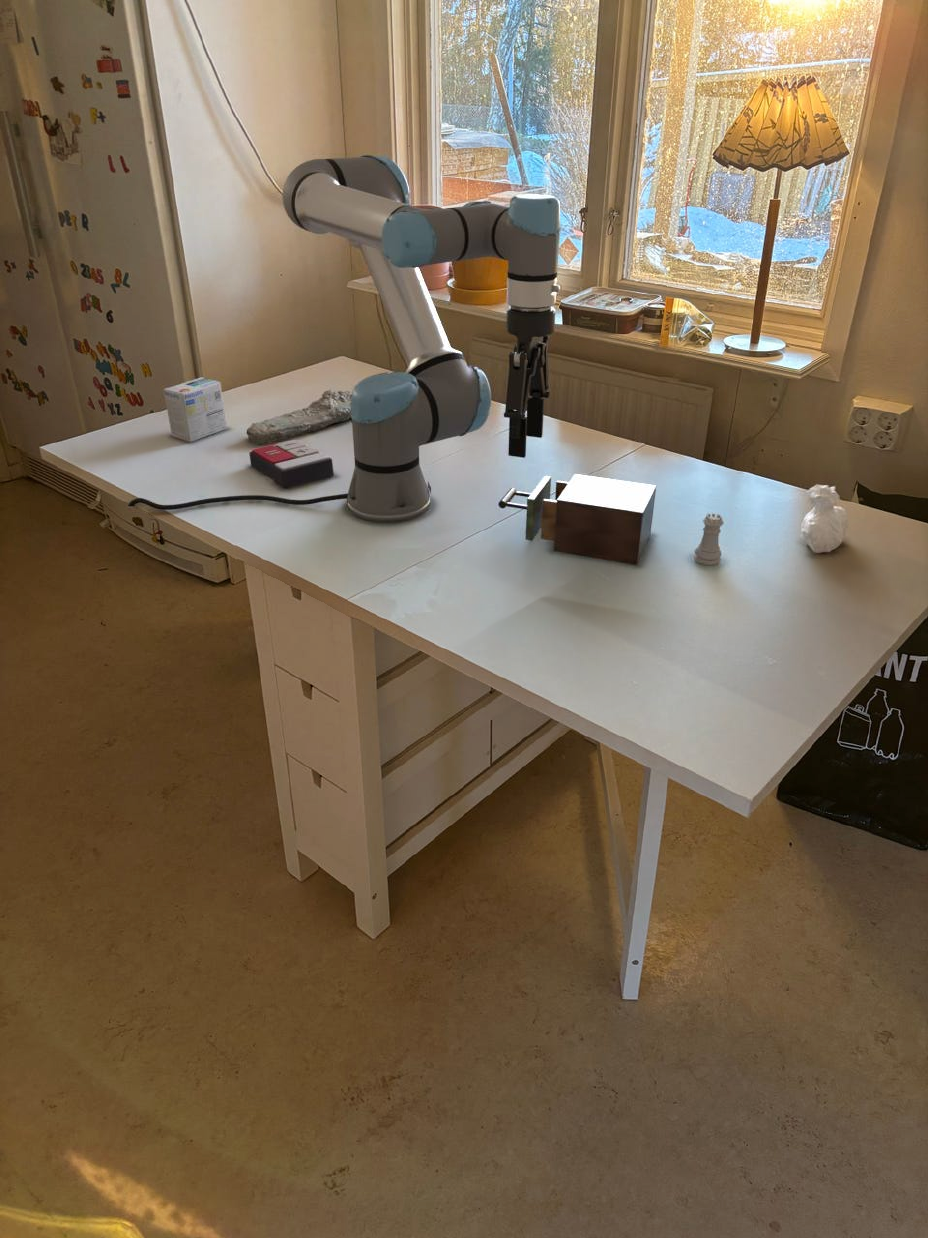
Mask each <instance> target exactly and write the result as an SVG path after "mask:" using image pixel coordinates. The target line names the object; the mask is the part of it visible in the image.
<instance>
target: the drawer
mask: <svg viewBox="0 0 928 1238" xmlns="http://www.w3.org/2000/svg"><path fill="white" fill-rule="evenodd" d="M569 482H570V481H565V480H556V482H555V495H554V499H551V490H552V489H551V488H552V484H551V483H552V476H550V475H549V476H548V475H544V476H543V477H542V478H541V480H540V482H539V483H538V484H537V485H536V487H535V488H534V489H533V490H532V492H525V491H519V490H517V489H516V488H514V487H510V488H509V489H508V490H507V492H506V493H505V494H504V495H503V497H502V498H501V499H500V500H499V501H498V503H497V504H498V507H499V508H500V509H506V508H507V507H509V508H515V509H521V510H526V517H525V518H526V519H525V541H533V540H534V539H535V538H536V536H537V534H539V532H540V539H541V540H545V541H552V542H554V539H555V523H556V506H557V499H558V497H559V496H560V495H561V493H562V492H563V490H564V489H565V487H566V486H567V485H568V483H569ZM515 496H519V497H524V498H526V504H524V503H523V504H521V503H516V502H511V501H512V500H513V499H514V497H515Z"/></svg>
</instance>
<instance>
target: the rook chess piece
mask: <svg viewBox="0 0 928 1238" xmlns="http://www.w3.org/2000/svg"><path fill="white" fill-rule="evenodd" d="M702 522H703V524H704V527H703V528H702V531H703V534H702V538H701V541H700V542H699V544H698V546H697V547H696V548H695V549H694V554H693V559H694V560H695V562H696V563H697V564H699V565H701V566H704V567H705V566H706V567H714V566H716V565H718V564H719V563H721V561H722V550H721V548H720V545H719V536H720V533H721V531H722V530H721V527H722V526H723V525H724V520H723V516H722V515H721V514H720V513H717V514H716V512H712V513H709V512H708V513H706V515H705V517H704V518H703V519H702Z"/></svg>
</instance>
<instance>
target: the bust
mask: <svg viewBox="0 0 928 1238" xmlns="http://www.w3.org/2000/svg"><path fill="white" fill-rule="evenodd" d="M840 497H841V496H840V495H839V494H838V492H837V491H836V486H830V485H829V484H826V485H824V484H815V485H814V486H812V487H810V488H809V489H808V490H807V492H806V498H807V501H808V502H809V504H810V506H811V507H813V508H812V509H811V510H810V511H809V512H807V513H806V514H805V516H804V518H803V521H802V523H801V524H800V528H801V529H800V539H801V541H802V542H803V543H804V544H805V545H807V546H809V548H810V549H811V551H812V552H813V554H821V553H831V552H832V551H833V550H836V549H837V548H839V546H840V545H841V544H842V542H843V539H844V537H845V535H846V532H847V529H848V528H849V519H848V515H847V512H846V510H845V509H844V508H843V507H842V506H836V505H837V504H838V502H839V501H840V499H841V498H840Z"/></svg>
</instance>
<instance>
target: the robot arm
mask: <svg viewBox="0 0 928 1238" xmlns="http://www.w3.org/2000/svg"><path fill="white" fill-rule="evenodd" d="M409 194H410V187H409V184H408V181H407V178H406V175H405V174H404V171H403V170H402V169H401V167H400V166H399V165H398V164H397V163H396V162H395V161H394V160H393V159H391V158H389V157H386V156H383V155H382V156H381V155H371V154H365V155H361V156H353V157H335V158H314V159H310V160H306V161H304V162H302V163H300V164H299V165H297V166H296V167H294V168H293V169H292V171H291V172H290V173H289V175H288V176H287V177H286V179H285V182H284V184H283V188H282V204H283V208H284V211H285V213H286V214H287V217H288V218H289V220H290V221H291V222H292V223H293V224H295V226H297V227H298V228H300V229H302V230H304V231H307V232H309V233H312V234H315V235H316V234H317V235H326V234H328V233H330V234H332V235H333V234H334V235H337V236H339V237H342V238H345V239H347V241H348V243H349V244H350V246H352V247H353V248H356V249H359V250H360V251H361V253H362V256H363V258H364V261H365V263H366V266H367V269H368V271H369V273H370V275H371V276H370V277H371V278H372V281H373V283H374V286H375V288H376V291H377V293H378V295H379V299H380V300H381V303H382V306H383V308H384V310H385V313H386V314H387V315H386V316H387V318H388V321H389V323H390V325H391V328H392V330H393V333H394V335H395V337H396V340H397V342H398V345H399V347H400V350H401V352H402V355H403V358H404V360H405V362H406V365H407V368H406V371H392V372H385V371H384V372H380V373H376V374H372V375H370V376H367V377H366V378H363V379H361V380H360V381H358V383H356V384H355V385H354V386H353V390H352V391H351V392H352V394H351V409H350V414H351V418H350V419H351V428H352V429H351V430H352V442H353V458H354V469H353V473H352V476H351V480H350V484H349V488H348V490H347V493H341V494H334V495H325V496H320V497H315V498H309V499H291V498H284V497H279V496H272V495H265V494H264V495H263V494H261V495H259V494H245V495H229V496H219V497H210V498H203V499H198V500H197V499H196V500H192V501H188V502H183V503H176V504H159V503H156V502H154V501H151V500H148V499H146V498H143V497H136V498H134V499H132V500H131V501H130V502H129V503H128V505H127V507H134V506H135V505H137V504H143V505H146V506H149V507H150V508H153V509H155V510H161V511H171V510H181V509H187V508H191V507H196V506H200V505H201V506H202V505H208V504H215V503H226V502H236V501H237V502H238V501H267V502H275V503H280V504H286V505H293V506H294V505H295V506H305V505H306V506H307V505H314V504H318V503H324V502H325V503H326V502H331V501H339V500H345V499H346V505H347V510H348V511H349V513H350V514H351V515H353V516H354V517H356V518H359V519H361V520H364V521H368V522H374V523H398V522H405V521H409V520H412V519H415V518H418V517H420V516H422V515H424V514H425V513H427V512H428V510H429V509H430V507H431V496H430V495H431V494H432V487H431V484H430V483H429V481H427V482H426V479H425V477H424V474H423V471H422V468H421V466H420V465H421V464H420V447H421V446H424V445H428V444H432V443H435V442H440V441H444V440H447V439H452V438H455V437H463V436H465V435H467V434H469V433H472V432H475V431H477V430H479V429H481V428H482V427H483V426H484V425H485V423H486V422H487V420H488V418H489V415H490V413H491V406H492V391H491V385H490V382H489V380H488V377H487V375H486V373H485V372H484V371H483V370H482V369H480V368H479V367H477V366H474V365H468V363H467V361H466V359H465V356H464V354H463V352H462V351H459V350H457V349H455V348H452V347H451V343H450V342H449V340H448V337H447V335H446V332H445V329H444V327H443V325H442V322H441V320H440V317H439V315H438V312H437V310H436V307H435V305H434V302H433V300H432V298H431V295H430V293H429V290H428V287H427V285H426V282H425V280H424V278H423V275H422V273H421V270H420V268H422V267H424V266H425V267H426V266H431V265H438V264H445V263H451V262H460V261H468V260H474V259H482V258H495V259H501V260H504V261H507V279H506V281H507V282H506V304H507V305H509V306H508V307H507V309H506V322H505V323H506V324H505V326H506V328H505V330H506V332H507V333H508V334H510V335H512V336H515V337H516V338H517V340H516V345H514V348H513V351H510V352H509V354H508V377H507V389H506V397H505V398H506V400H505V409H504V412H503V418H507V419H508V420H509V422H508V450H507V451H508V452H507V453H508V454H507V455H508V456H509V457H516V458H524V459H525V458H526V455H527V437H531V438H539V439H542V437H543V432H544V411H545V399H549V398H550V394H551V393H550V391H548V390H549V389H550V387H549V340H550V335H552V334H553V333H554V332H555V328H556V311H557V310H556V309H555V307H554V305H555V304H556V303H557V302H556V301H557V293H559V292H560V290H561V286H560V285H558V284H557V282H558V278H557V277H558V268H559V253H560V251H559V250H560V237H561V236H560V235H561V230H562V225H561V202H560V201H559V199H558V198H557V197H556V196H554V195H550V194H538V193H526V194H525V193H524V194H517V195H514V196H512V197H511V198H510V200H509V205H505V204H504V205H503V204H498V203H494V202H491V201H489V200H484V201H477V200H474V201H473V200H472V201H469V202H467V203H465V204H464V205H463V206H455V207H454V206H453V207H445V208H435V209H434V208H433V209H425V208H421V207H417V206H413V205H411V198H410V197H409Z"/></svg>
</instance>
